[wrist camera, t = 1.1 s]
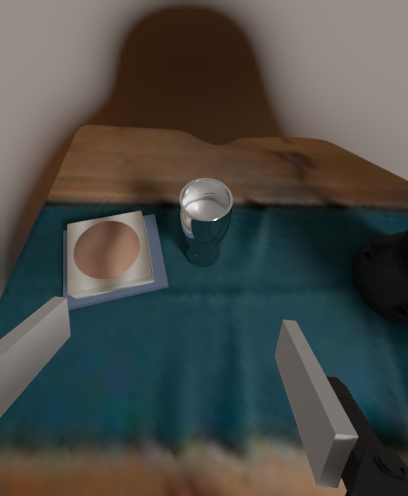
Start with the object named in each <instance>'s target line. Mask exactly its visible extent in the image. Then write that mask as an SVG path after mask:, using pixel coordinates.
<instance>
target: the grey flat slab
mask: <svg viewBox="0 0 408 496" xmlns="http://www.w3.org/2000/svg"><path fill="white" fill-rule="evenodd" d="M143 218H144V222H145V228H146V234H147V239H148V245H149V251H150V257H151V263H152V269H153V275H154V281H155V282H152V283H148V284H143V285H139V286H134V287H130V288H125V289H121V290H116V291H112V292H107V293H103V294H98V295H94V296H90V297H85V298H81V299H75V298H74V297H72V296H70V295H68V288H67V230H65V231H63V298H67V304H68V310H71V309H76V308H80V307H85V306H89V305H93V304H98V303H102V302H106V301H111V300H115V299H120V298H124V297H128V296H133V295H137V294H141V293H146V292H150V291H155V290H159V289H163V288H168V287H169V285H168V280H167V275H166V270H165V265H164V260H163V254H162V249H161V244H160V239H159V234H158V228H157V223H156V218H155V214H151V215H146V216H143Z"/></svg>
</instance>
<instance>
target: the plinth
mask: <svg viewBox="0 0 408 496" xmlns="http://www.w3.org/2000/svg"><path fill="white" fill-rule="evenodd" d="M152 282H155V281H154V275H153V269H152V263H151V257H150V251H149V245H148V239H147V234H146V228H145V222H144V218H143V215H142V212H141V211H137V212H131V213H126V214H120V215H115V216H109V217H104V218H98V219H93V220H87V221H82V222H76V223H71V224H67V288H68V295H70V296H72V297H74V298H75V299H81V298H85V297H90V296H94V295H98V294H103V293H107V292H112V291H116V290H121V289H125V288H130V287H134V286H139V285H143V284H148V283H152Z"/></svg>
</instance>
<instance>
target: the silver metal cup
mask: <svg viewBox="0 0 408 496" xmlns="http://www.w3.org/2000/svg"><path fill="white" fill-rule="evenodd" d="M179 202H180V205H179V218H180V225H181V229H182V232H183V235H184V237H185V239H186V241H187V246H186V256H187V259H188V260H189V261H190V262H191V263H192V264H193V265H195V266H197V267H209V266H211V265H213V264H214V263H215V262H216V261H217V260H218V258H219V256H220V246H219V245H220V243H221V242H222V240H223V239H224V237H225V235H226V233H227V231H228V228H229V224H230V220H231V213H232V204H233V197H232V193H231V191H230V190H229V188H228V187H227V186H226V185H225V184H223V183H222V182H220V181H218V180H215V179H211V178H200V179H196V180H193V181H191V182H189V183H188V184H187V185H185V186H184V188H183V189H182V191H181V193H180V197H179Z"/></svg>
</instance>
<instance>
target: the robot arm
mask: <svg viewBox="0 0 408 496" xmlns="http://www.w3.org/2000/svg"><path fill="white" fill-rule="evenodd" d="M352 272H353V278H354V282H355V284H356V287H357V289H358V291H359V292H360V294H361V296H362V297H363V298H364V300H365V301H366V302H367V303H368V304H369V305H370V306H371V307H372V308H373V309H374V310H375V311H376V312H377V313H379V314H380V315H382V316H383V317H385V318H387V319H388V320H390V321H393V322H395V323H398V324H401V325H405V326H408V230H407V231H403V232H399V233H396V234H392V235H388V236H384V237H380V238H377V239H375V240H373V241H371V242H369V243H368V244H367V245H365V246H364V247H362V248H361V249H360V250H359V251H358V252H357V254H356V256H355V258H354V261H353V266H352ZM69 337H70V325H69V315H68V304H67V298H63V297H53V298H52V299H51V300H50V301H48V302H47V303H46V304H45V305H43V306H42V307H41V308H40V309H38V310H37V311H36V312H35V313H33V314H32V315H31V316H29V317H28V318H27V319H26V320H24V321H23V322H22V323H21V324H19V325H18V326H17V327H16V328H14V329H13V330H12V331H11V332H9V333H8V334H7V335H6V336H4V337H3V338H2V339H1V340H0V417H1V416H2V415H3V414H4V413H5V411H6V410H7V409H8V408H9V407H10V406H11V404H12V403H13V402H14V401H15V400H16V399H17V398H18V396H19V395H20V394H21V393H22V392H23V391H24V389H25V388H26V387H27V386H28V385H29V384H30V382H31V381H32V380H33V379H34V378H35V377H36V375H37V374H38V373H39V372H40V371H41V370H42V368H43V367H44V366H45V365H46V364H47V363H48V361H49V360H50V359H51V358H52V357H53V356H54V354H55V353H56V352H57V351H58V350H59V349H60V347H61V346H62V345H63V344H64V343H65V342H66V341H67V339H68V338H69ZM275 359H276V362H277V365H278V368H279V371H280V374H281V377H282V380H283V384H284V387H285V390H286V393H287V396H288V399H289V402H290V405H291V408H292V411H293V414H294V417H295V420H296V423H297V426H298V429H299V432H300V436H301V439H302V442H303V445H304V448H305V451H306V454H307V457H308V460H309V463H310V466H311V469H312V472H313V475H314V478H315V481H316V484H317V486H323V487H333V488H337V487H338V485H339V482H340V480H341V478H342V480H343V482H344V485H345V487H346V489H347V492H346V495H345V496H408V467H407V466H406V464H405V463H404V462H403V461H402V460H401V459H400V458H399V456H397V455H396V454H395V453H394V452H392V451H391V450H390V449H388V448H386V447H384V446H383V445H382V444H381V442H380V441H379V439H378V438H377V436H376V434H375V433H374V431H373V429H372V428H371V426H370V424H369V423H368V421H367V420H366V418H365V416H364V415H363V413H362V411H361V410H360V409H359V406H358V405H357V403H356V402H355V400H353V397H352V395H351V393H350V392H349V390H348V388H347V387H346V386H345V385H344V384H343V383H342V382H341V381H340V380H339V379H338V378H335V377H326V376H325V374H324V372H323V370H322V368H321V367H320V365H319V363H318V361H317V359H316V357H315V356H314V354H313V352H312V350H311V348H310V346H309V344H308V343H307V341H306V339H305V337H304V335H303V333H302V332H301V330H300V328H299V326H298V324H297V322H296V321H291V320H283V322H282V326H281V331H280V335H279V340H278V344H277V349H276V353H275Z"/></svg>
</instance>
